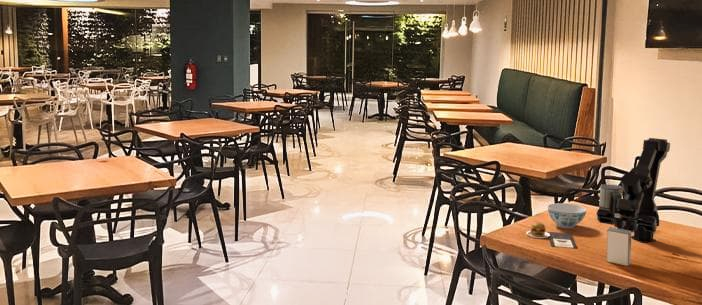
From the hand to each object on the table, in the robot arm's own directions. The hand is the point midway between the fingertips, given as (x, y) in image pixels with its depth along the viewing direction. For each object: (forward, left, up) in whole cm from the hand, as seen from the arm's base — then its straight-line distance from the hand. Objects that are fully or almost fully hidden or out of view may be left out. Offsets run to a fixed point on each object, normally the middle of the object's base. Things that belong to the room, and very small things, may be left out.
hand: (619, 240), depth 216 cm
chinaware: (-12, -42, -8) cm, 44 cm away
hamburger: (+7, -35, -9) cm, 37 cm away
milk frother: (-38, -41, -8) cm, 57 cm away
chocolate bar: (+2, -27, -9) cm, 28 cm away
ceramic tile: (0, 0, -8) cm, 8 cm away
